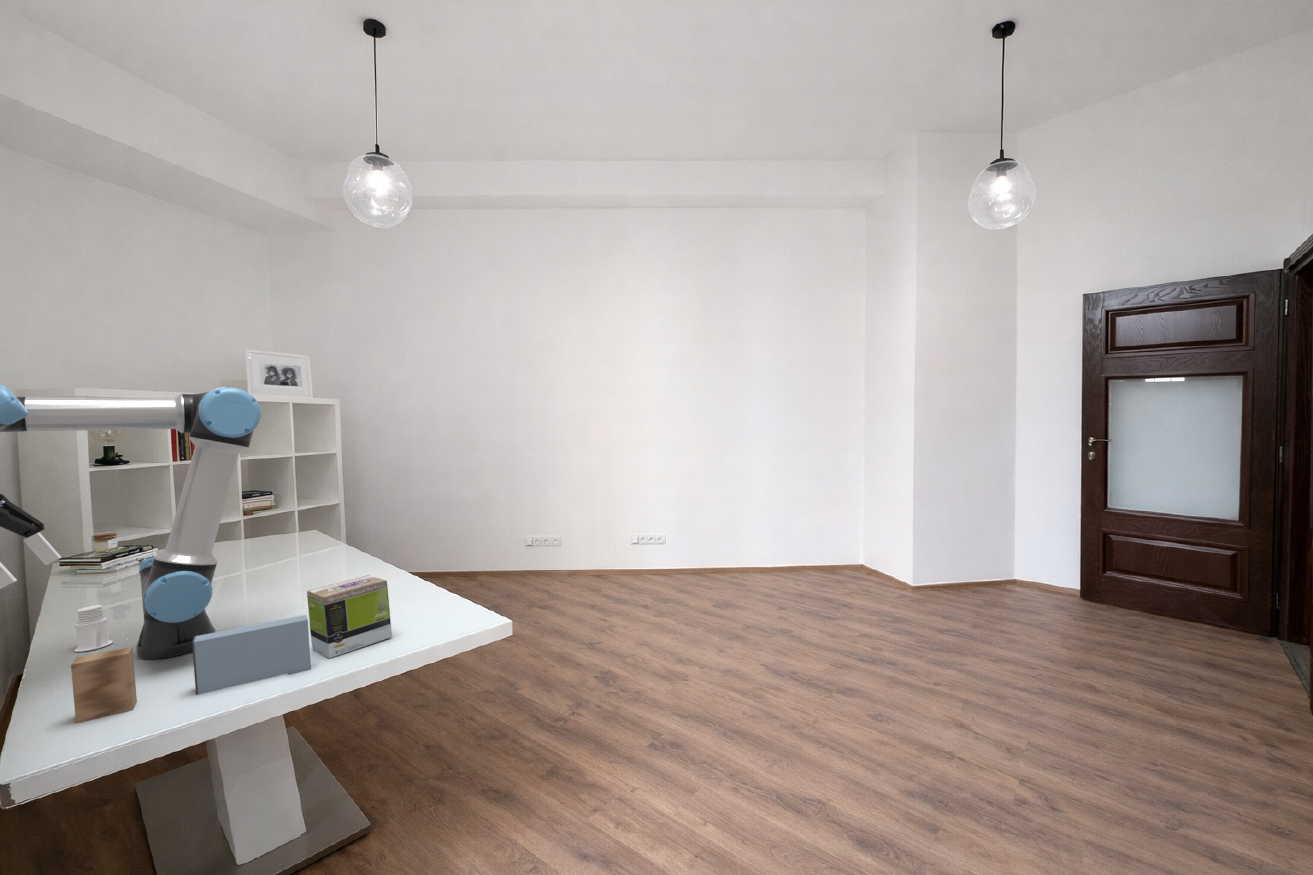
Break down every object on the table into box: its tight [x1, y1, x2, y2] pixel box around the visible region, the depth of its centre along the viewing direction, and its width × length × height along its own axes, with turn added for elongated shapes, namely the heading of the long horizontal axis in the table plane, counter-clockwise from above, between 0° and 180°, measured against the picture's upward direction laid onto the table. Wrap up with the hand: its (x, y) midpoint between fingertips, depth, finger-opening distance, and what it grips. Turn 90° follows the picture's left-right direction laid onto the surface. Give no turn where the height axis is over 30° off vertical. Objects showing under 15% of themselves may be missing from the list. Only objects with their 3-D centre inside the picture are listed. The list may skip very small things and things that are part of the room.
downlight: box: [73, 604, 114, 653], centre depth 148 cm, size 8×7×10 cm
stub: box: [70, 646, 138, 724], centre depth 113 cm, size 8×4×11 cm, turn 124°
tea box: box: [306, 574, 393, 659], centre depth 143 cm, size 15×10×15 cm, turn 141°
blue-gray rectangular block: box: [192, 614, 312, 696], centre depth 126 cm, size 20×4×11 cm, turn 124°
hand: (32, 572), depth 118 cm, fingers open, 13 cm apart
